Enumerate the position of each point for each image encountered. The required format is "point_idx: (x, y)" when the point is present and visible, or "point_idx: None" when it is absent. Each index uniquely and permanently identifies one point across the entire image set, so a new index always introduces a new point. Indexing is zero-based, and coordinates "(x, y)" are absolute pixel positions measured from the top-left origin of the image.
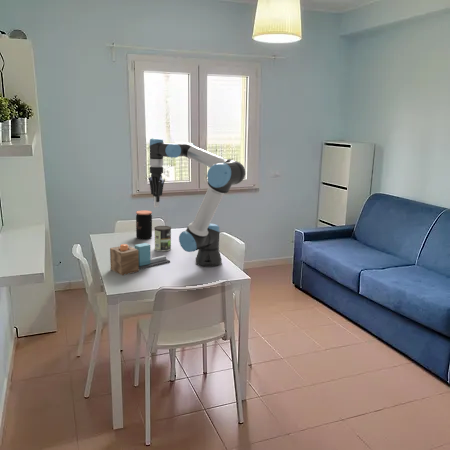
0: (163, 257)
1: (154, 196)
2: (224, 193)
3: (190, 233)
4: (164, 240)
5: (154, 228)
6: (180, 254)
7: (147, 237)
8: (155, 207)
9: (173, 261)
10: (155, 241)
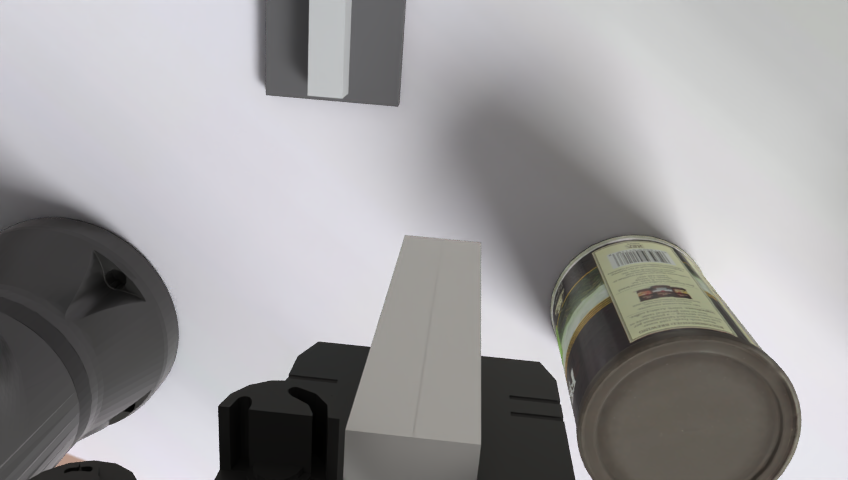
0: (309, 57)
1: (417, 432)
2: None
3: None
4: (577, 320)
5: (758, 348)
6: None
7: None
8: (403, 242)
9: (273, 132)
10: (679, 271)
